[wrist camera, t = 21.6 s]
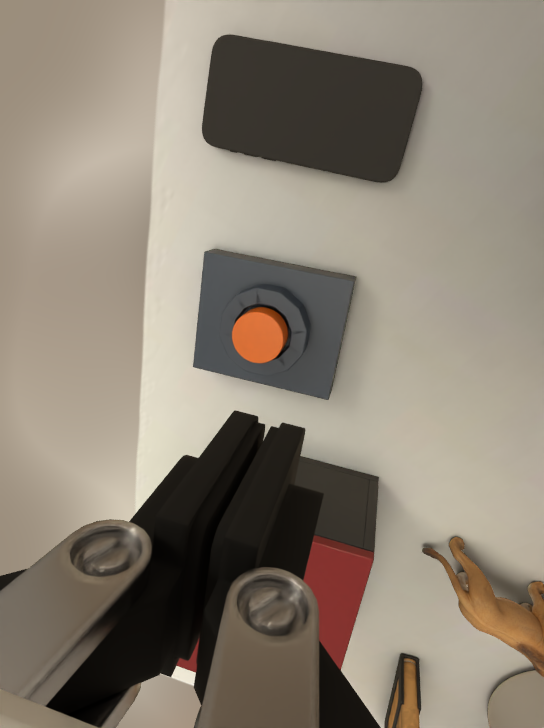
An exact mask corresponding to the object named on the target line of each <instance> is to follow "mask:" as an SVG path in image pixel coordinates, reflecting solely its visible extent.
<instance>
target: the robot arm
mask: <svg viewBox="0 0 544 728" xmlns="http://www.w3.org/2000/svg"><path fill="white" fill-rule="evenodd" d="M264 432H265V424H261V423H258V416H255V415H251V414H247V413H243V412H239V411H234V412H233V413H232V414H231V416H230V417H229V418H228V420H227V421H226V422H225V424H224V425H223V426H222V428H221V429H220V430H219V432H218V433H217V434H216V436H215V437H214V438H213V440H212V441H211V442H210V444H209V445H208V446H207V448H206V449H205V450H204V452H203V453H202V454H201V456H200V457H199V458H196V457H192V456H189V455H184V456H183V457H182V458H181V459H180V460H179V461H178V462H177V464H176V465H175V466H174V467H173V469H172V470H171V471H170V472H169V474H168V475H167V476H166V477H165V478H164V480H163V481H162V482H161V483H160V485H159V486H158V487H157V488H156V489H155V491H154V492H153V493H152V494H151V496H150V497H149V498H148V499H147V501H146V502H145V503H144V504H143V505H142V507H141V508H140V509H139V510H138V512H137V513H136V514H135V515H134V516H133V518H132V519H131V520H130V521H129V522H127V521H124V520H103V521H96V522H93V523H91V524H88V525H85V526H83V527H81V528H80V529H78V530H76V531H75V532H73V533H72V534H71V535H69V536H68V537H67V538H66V539H64V540H63V541H62V542H61V543H59V544H58V545H57V546H56V547H54V548H53V549H52V550H51V551H49V552H48V553H47V554H46V555H44V556H43V557H42V558H41V559H39V560H38V561H37V562H36V563H35V564H33V565H32V566H31V567H30V568H28V569H25V570H21V571H17V572H13V573H10V574H6V575H2V576H0V728H116V727H117V725H118V724H119V722H120V721H121V719H122V718H123V716H124V715H125V714H126V712H127V711H128V709H129V708H130V706H131V705H132V704H133V702H134V701H135V698H136V697H137V695H138V693H139V691H140V688H141V682H144V681H146V680H148V679H151V678H153V677H155V676H158V675H159V674H160V673H161V674H164V675H167V676H169V677H171V676H172V674H173V672H174V669H175V667H176V665H177V663H178V661H179V659H180V658H181V659H183V660H186V661H188V660H189V659H190V658H191V656H192V654H193V651H194V649H195V647H196V645H197V642H198V640H199V644H198V652H197V659H196V664H197V669H196V676H195V683H194V689H195V691H196V694H197V696H198V698H199V701H200V703H201V706H202V709H201V713H200V718H199V722H198V727H197V728H381V727H380V726H379V725H378V723H377V722H376V720H375V719H374V718H373V716H372V715H371V713H370V712H369V710H368V709H367V708H366V706H365V705H364V703H363V702H362V700H361V699H360V698H359V696H358V695H357V693H356V692H355V690H354V689H353V688H352V686H351V685H350V683H349V682H348V680H347V679H346V678H345V676H344V675H343V673H342V672H341V671H340V669H339V668H338V666H337V665H336V663H335V662H334V661H333V659H332V658H331V656H330V655H329V653H328V652H327V651H326V649H325V648H324V646H323V645H322V643H321V642H320V641H319V609H318V603H317V599H316V597H315V595H314V594H313V592H312V590H311V588H310V587H309V586H308V585H307V584H306V583H305V582H304V581H303V580H304V576H305V572H306V568H307V564H308V559H309V555H310V551H311V547H312V543H313V538H314V534H315V530H316V526H317V521H318V517H319V513H320V508H321V504H322V500H323V496H324V493H322V492H318V491H315V490H311V489H308V488H304V487H300V486H297V485H294V484H295V479H296V474H297V469H298V464H299V459H300V455H301V450H302V445H303V440H304V435H305V428H302V427H298V426H294V425H290V424H286V423H281V425H280V427H279V428H277V427H273V426H271V428H270V430H269V432H268V433H267V435H266V437H265V439H264V441H263V438H264Z"/></svg>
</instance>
